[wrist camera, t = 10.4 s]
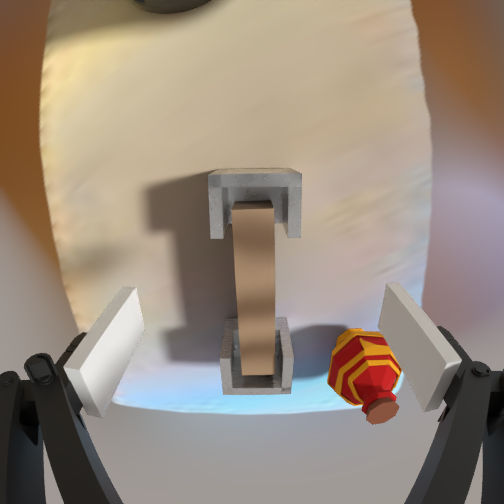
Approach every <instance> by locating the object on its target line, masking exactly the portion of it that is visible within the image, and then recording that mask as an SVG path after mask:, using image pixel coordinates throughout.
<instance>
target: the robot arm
mask: <svg viewBox="0 0 504 504" xmlns="http://www.w3.org/2000/svg"><path fill="white" fill-rule="evenodd" d="M131 1H132V2H133V3H134V4H135V5H136V6H137V7H139V8H141V9H143V10H145V11H149V12H153V13H177V12H182V11H186V10H190V9H193V8H196V7H198V6H201V5H203V4H205V3H207V2H209V1H210V0H131ZM378 328H379V330H380V331H381V333H382V335H383V337H384V338H385V340H386V342H387V344H388V345H389V347H390V349H391V351H392V353H393V354H394V356H395V358H396V360H397V362H398V364H399V365H400V367H401V369H402V371H403V373H404V375H405V377H406V378H407V380H408V382H409V384H410V386H411V388H412V390H413V392H414V394H415V395H416V398H417V400H418V402H419V404H420V405H421V408H422V410H423V412H427V411H431V410H434V409H438V408H439V406H440V404H441V402H442V400H443V399H444V401H445V402H446V404H447V406H446V407H445V409H444V411H443V413H442V415H441V416H440V418H439V419H438V422H440V423H439V426H438V429H437V432H436V434H435V437H434V440H433V443H432V445H431V447H430V450H429V453H428V455H427V457H426V460H425V462H424V464H423V466H422V469H421V471H420V473H419V475H418V478H417V479H416V482H415V484H414V486H413V488H412V490H411V492H410V494H409V496H408V498H407V499H406V501H405V503H404V504H464V503H465V500H466V497H467V494H468V491H469V488H470V485H471V482H472V478H473V475H474V472H475V468H476V464H477V461H478V457H479V452H480V448H481V444H482V442H483V482H482V498H481V504H504V369H503V371H491V370H490V368H489V367H488V366H487V365H486V364H484V363H482V362H478V361H474V362H473V361H472V360H471V359H470V358H469V356H468V355H467V353H466V352H465V351H464V350H463V348H462V347H461V346H460V345H458V342H457V341H456V340H455V339H454V337H453V336H452V335H451V334H450V332H449V331H447V330H446V329H444V328H443V327H441V326H438V327H436V326H435V325H434V323H433V322H432V321H431V320H430V319H429V317H428V316H427V315H426V314H425V312H424V311H423V310H422V309H421V308H420V307H419V305H418V304H417V303H416V302H415V301H414V299H413V298H412V297H411V296H410V295H409V294H408V292H407V291H406V290H405V289H404V288H403V287H402V286H401V284H400V283H387V284H386V289H385V295H384V300H383V305H382V310H381V314H380V319H379V324H378ZM144 332H145V327H144V322H143V318H142V313H141V309H140V304H139V299H138V294H137V289H136V287H122V289H121V290H120V291H119V293H118V294H117V295H116V296H115V298H114V299H113V300H112V301H111V303H110V304H109V305H108V307H107V308H106V309H105V310H104V312H103V313H102V314H101V316H100V317H99V318H98V320H97V321H96V322H95V324H94V325H93V326H92V328H91V329H90V330H89V332H88V333H85V332H83V333H81V334H80V335H78V336H77V337H75V338H74V340H73V341H72V342H71V344H70V346H68V348H67V349H66V351H65V352H64V353H63V354H62V356H61V357H60V358H59V360H58V361H57V363H56V364H54V362H53V360H52V358H51V356H50V355H48V354H46V353H39V354H35V355H33V356H31V357H30V358H29V359H27V361H26V362H25V364H24V369H25V371H26V372H27V375H28V377H29V378H30V380H21V379H20V378H19V376H18V374H17V373H16V372H14V371H7V372H4V373H2V374H1V375H0V504H46V498H45V486H44V462H43V440H44V443H45V447H46V451H47V454H48V458H49V461H50V464H51V468H52V471H53V474H54V477H55V480H56V482H57V486H58V488H59V491H60V494H61V496H62V499H63V501H64V504H123V502H122V501H121V499H120V497H119V495H118V494H117V492H116V490H115V488H114V486H113V484H112V482H111V480H110V478H109V477H108V475H107V473H106V471H105V469H104V467H103V465H102V463H101V460H100V458H99V456H98V454H97V452H96V450H95V447H94V445H93V443H92V440H91V438H90V436H89V433H88V431H87V428H86V426H85V423H84V421H83V418H82V416H81V414H80V413H79V412H80V410H81V408H82V406H83V407H84V409H85V411H86V413H87V415H91V416H95V417H99V418H103V417H104V414H105V412H106V410H107V408H108V406H109V403H110V401H111V399H112V397H113V395H114V393H115V391H116V389H117V386H118V384H119V382H120V380H121V378H122V376H123V374H124V372H125V370H126V368H127V366H128V364H129V362H130V360H131V357H132V355H133V353H134V351H135V349H136V347H137V345H138V343H139V342H140V340H141V338H142V336H143V334H144Z"/></svg>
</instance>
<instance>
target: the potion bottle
mask: <svg viewBox="0 0 504 504" xmlns="http://www.w3.org/2000/svg"><path fill="white" fill-rule="evenodd" d="M401 372H402V369H401V367H400V365H399V364H398V362H397V360H396V358H395V356H394V354H393V353H392V351H391V349H390V347H389V345H388V344H387V342H386V340H385V338H384V337H383V335H382V334H381V333H380V332H369V331H363V330H362V329H361V328H358V329H348V330H346V331H345V332H344V333H342V334H341V335H340V336H339V337H338V338H337V343H336V347H335V349H334V350H332V355H331V361H330V367H329V373H328V379H327V384H328V385H329V386H330V387H331V388H332V389H334V391H335V392H336V393H337V394H338V395H339V396H340V397H341V398H343V399H344V400H345V401H346V402H347V403H349V404H351V405H354V406H358V405H363V406H362V411H363V412H364V413H365V414H366V415H367V418H366V420H367V421H369V422H370V423H371V424H379V423H384V422H386V421H388V420H389V419H391V418H392V417H394V416H395V415H396V413H397V411H398V409H399V406H398V405H397V404H396V403H395V401H396V396H395V395H394V394H393V393H392V392H391V391H393V389H394V388H395V387H396V384H397V382H398V379H399V377H400V374H401ZM395 378H396V380H395ZM394 381H395V382H394ZM393 383H394V384H393Z"/></svg>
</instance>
